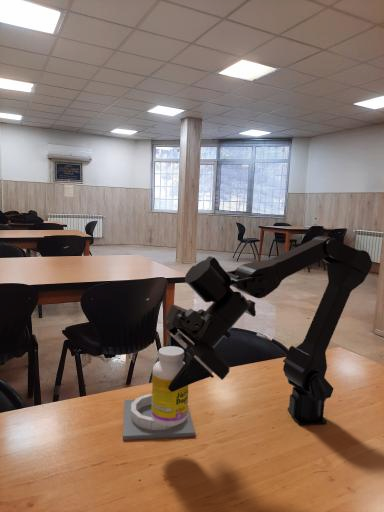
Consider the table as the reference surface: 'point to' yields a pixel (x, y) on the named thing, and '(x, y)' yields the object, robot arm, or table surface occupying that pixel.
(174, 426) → the socket plate
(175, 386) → the robot arm
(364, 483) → the table surface
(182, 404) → the supplement bottle
